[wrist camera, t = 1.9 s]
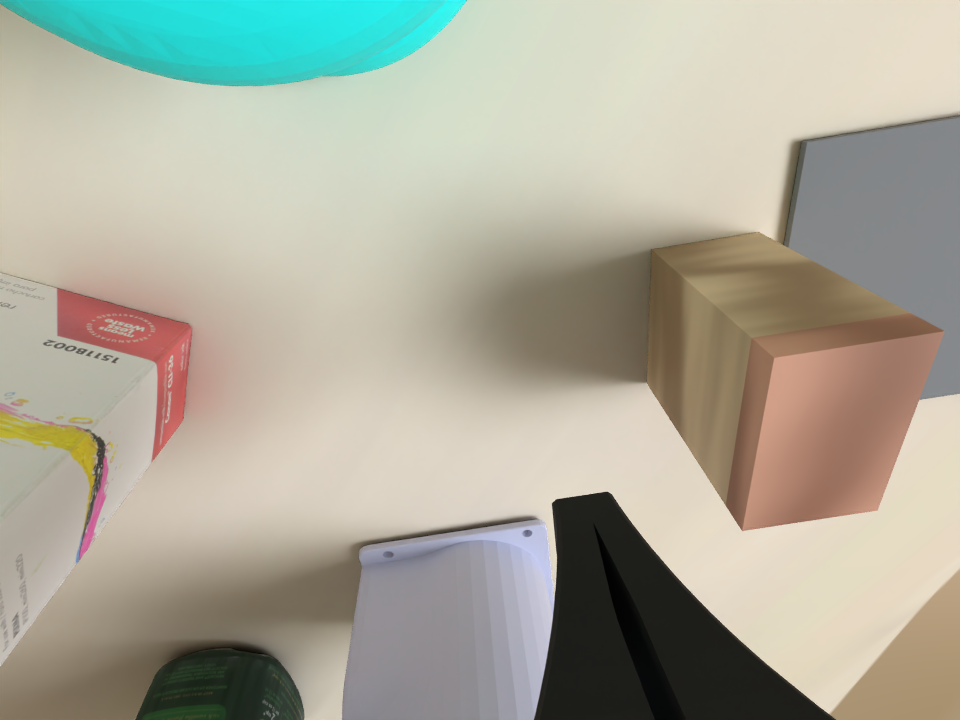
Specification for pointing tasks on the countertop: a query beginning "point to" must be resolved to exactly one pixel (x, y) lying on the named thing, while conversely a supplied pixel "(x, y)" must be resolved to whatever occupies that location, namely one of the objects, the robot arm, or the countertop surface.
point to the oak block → (783, 377)
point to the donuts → (244, 35)
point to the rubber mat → (889, 223)
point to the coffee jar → (222, 689)
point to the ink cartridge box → (74, 430)
